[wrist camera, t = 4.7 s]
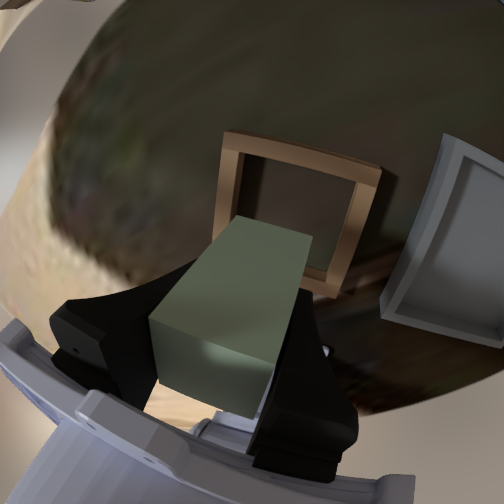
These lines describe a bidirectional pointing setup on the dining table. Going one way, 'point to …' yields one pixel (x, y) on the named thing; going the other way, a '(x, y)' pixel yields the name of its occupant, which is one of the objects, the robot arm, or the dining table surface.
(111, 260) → the dining table surface
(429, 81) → the dining table surface
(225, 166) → the square brown frame
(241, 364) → the green elongated block
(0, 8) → the square serving dish
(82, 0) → the supplement bottle
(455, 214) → the tray
